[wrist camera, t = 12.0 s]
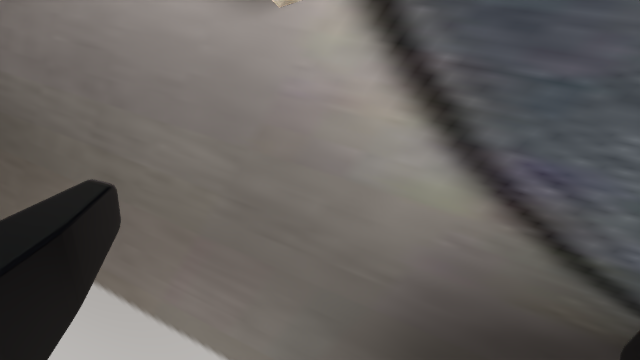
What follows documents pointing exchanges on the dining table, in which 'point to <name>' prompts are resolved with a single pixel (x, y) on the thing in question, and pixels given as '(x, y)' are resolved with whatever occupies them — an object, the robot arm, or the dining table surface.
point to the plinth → (284, 2)
